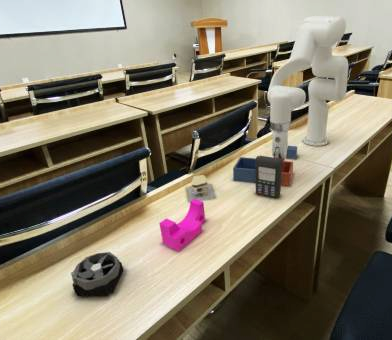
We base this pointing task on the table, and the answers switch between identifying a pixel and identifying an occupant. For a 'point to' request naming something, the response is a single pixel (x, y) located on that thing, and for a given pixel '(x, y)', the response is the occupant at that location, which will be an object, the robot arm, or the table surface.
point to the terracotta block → (283, 163)
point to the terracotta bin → (287, 174)
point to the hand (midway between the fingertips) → (278, 168)
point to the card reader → (268, 176)
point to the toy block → (183, 227)
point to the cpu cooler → (97, 275)
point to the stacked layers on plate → (200, 189)
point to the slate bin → (244, 170)
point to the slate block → (291, 152)
